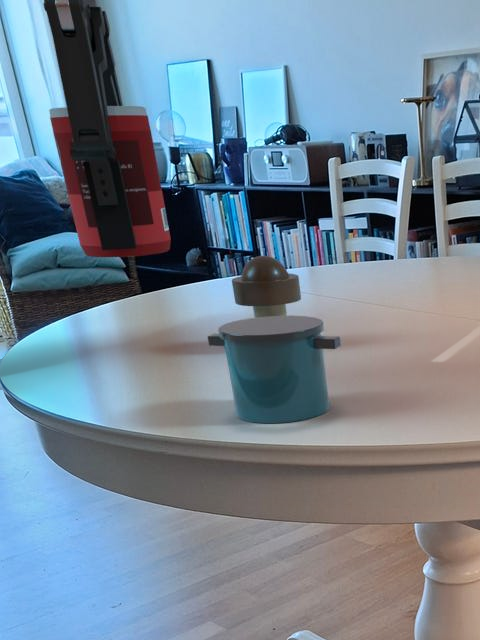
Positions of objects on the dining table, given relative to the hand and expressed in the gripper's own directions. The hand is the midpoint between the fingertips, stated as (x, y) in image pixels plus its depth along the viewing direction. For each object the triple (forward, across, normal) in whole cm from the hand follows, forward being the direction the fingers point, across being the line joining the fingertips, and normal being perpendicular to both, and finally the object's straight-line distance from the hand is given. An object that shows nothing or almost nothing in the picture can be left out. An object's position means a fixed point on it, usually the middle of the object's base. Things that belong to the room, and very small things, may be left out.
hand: (126, 243), depth 77 cm
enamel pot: (+13, -12, -12) cm, 21 cm away
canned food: (+1, 0, 0) cm, 1 cm away
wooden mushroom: (+13, +16, -11) cm, 24 cm away
